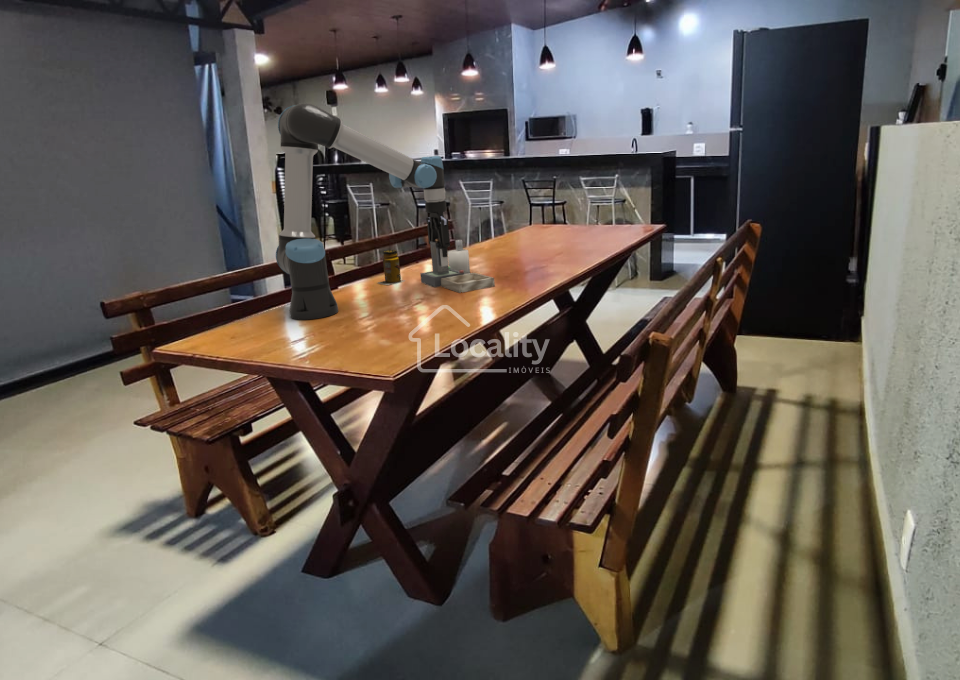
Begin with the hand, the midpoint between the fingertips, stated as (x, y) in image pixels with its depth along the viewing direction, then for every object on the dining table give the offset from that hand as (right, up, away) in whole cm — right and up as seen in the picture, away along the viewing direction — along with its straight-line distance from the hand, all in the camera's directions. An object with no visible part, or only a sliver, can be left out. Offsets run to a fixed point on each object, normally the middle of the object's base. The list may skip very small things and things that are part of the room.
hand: (441, 264), depth 247 cm
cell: (0, -3, +1) cm, 3 cm away
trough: (+10, -9, -9) cm, 16 cm away
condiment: (-19, -6, +9) cm, 22 cm away
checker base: (+1, -6, +2) cm, 7 cm away
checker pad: (0, -5, +1) cm, 5 cm away
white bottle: (+6, -2, +15) cm, 16 cm away
